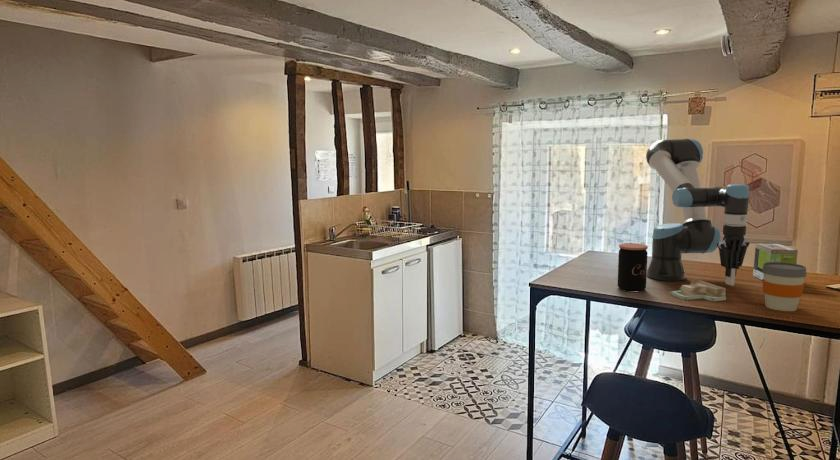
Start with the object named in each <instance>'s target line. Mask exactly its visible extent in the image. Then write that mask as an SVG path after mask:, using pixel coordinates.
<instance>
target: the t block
mask: <svg viewBox="0 0 840 460" xmlns="http://www.w3.org/2000/svg"><path fill="white" fill-rule="evenodd" d="M681 287H682V288H681V295H684V296H690V295H701V294H704V295H707V296H710V297H722V296H724V297H726V291H727V288H726V287H723V286H720V285H716V284H714V283H713V284H712V283H710V282H706V281H703V280H700V279H699V280H691V281H690V284H681Z"/></svg>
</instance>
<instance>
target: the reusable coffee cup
mask: <svg viewBox="0 0 840 460" xmlns="http://www.w3.org/2000/svg"><path fill="white" fill-rule="evenodd" d="M762 272H763V276H764V279H762V280H761V282H762V291H763V293H764V302H765V307H766V308H768V309H771V310H774V311H780V312H795V311H797V310H798V306H799V302H800V298H801V297H802V296H803V293H804V288H805V285H806V283H805V278H806V277H807V266H805V265H802V264H798V263H796V264H793V263H785V262H767V263H764V265H763V270H762Z"/></svg>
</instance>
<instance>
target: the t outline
mask: <svg viewBox="0 0 840 460" xmlns="http://www.w3.org/2000/svg"><path fill="white" fill-rule="evenodd" d="M678 287H679V290H672V291H669V295H670V296H673V297H675V298H678V299H680V300H683V301H689V300H697V299H698V300H699V299H703V300H707V301H710V302H712V303H713V302H721V301H726V300H727V297H726V296H725V297H724V296H722V297H710V296H707V295H704V294H701V295H690V296H684V295H681V288H682V286H678Z"/></svg>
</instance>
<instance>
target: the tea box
mask: <svg viewBox="0 0 840 460" xmlns="http://www.w3.org/2000/svg"><path fill="white" fill-rule="evenodd" d="M797 260H798V249H795V248H793V247H790V246H787V245H785V244H784V245H783V244H779V243H755V248H754V261H753V270H752V271H753V273H752V276H753V277H754V278H757V279H759V280H761V281H762V279H764V276H763V272H762V270H763V265H764V263H767V262H785V263H793V264H798V263H797Z"/></svg>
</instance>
